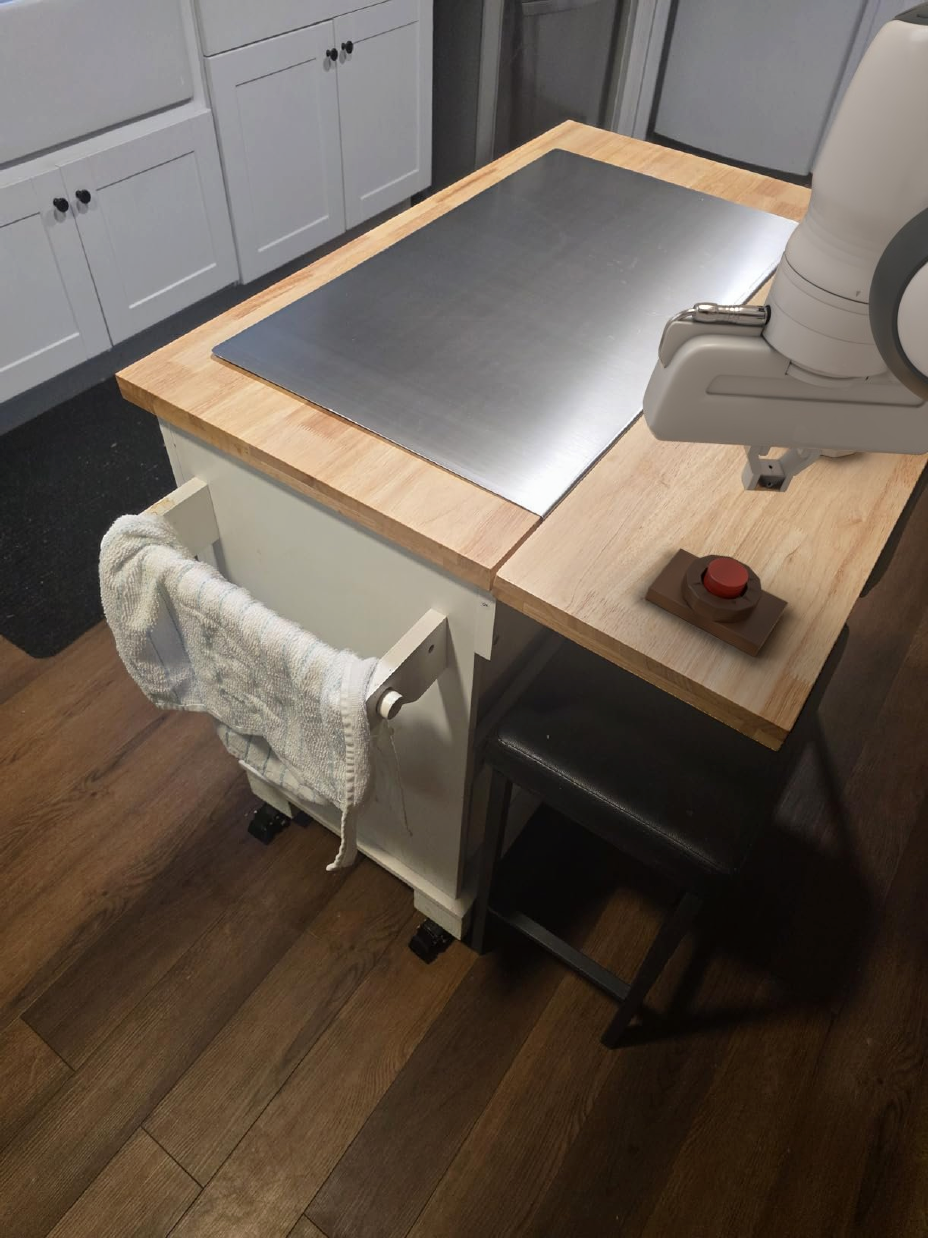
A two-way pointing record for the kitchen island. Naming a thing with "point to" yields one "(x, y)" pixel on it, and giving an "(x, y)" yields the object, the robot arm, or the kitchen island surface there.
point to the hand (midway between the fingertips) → (762, 485)
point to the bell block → (716, 602)
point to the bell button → (725, 578)
